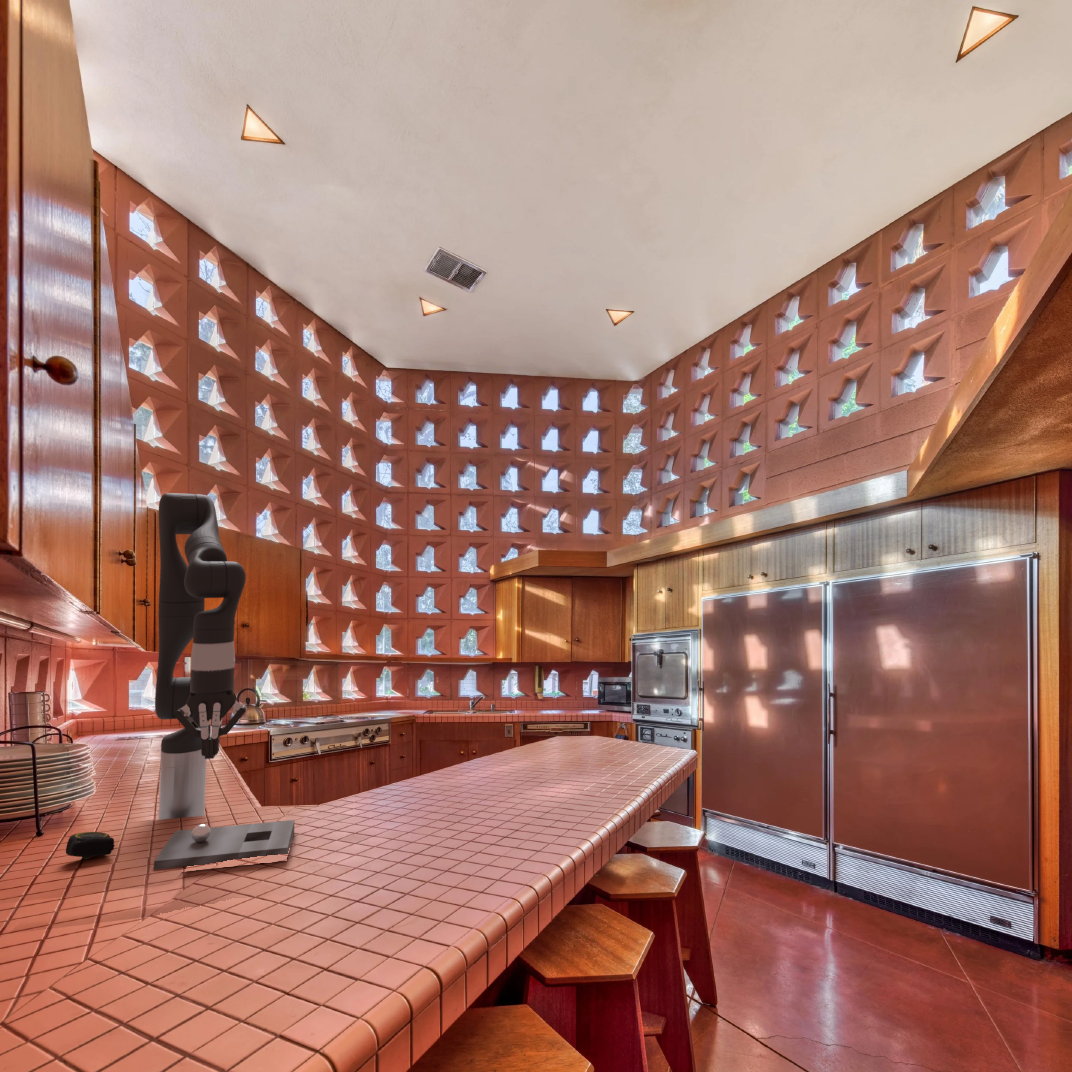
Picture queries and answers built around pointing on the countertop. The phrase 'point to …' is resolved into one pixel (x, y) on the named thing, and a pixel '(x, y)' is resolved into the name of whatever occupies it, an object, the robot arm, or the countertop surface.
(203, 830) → the steel ball
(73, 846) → the tape measure
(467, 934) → the countertop surface
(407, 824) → the countertop surface
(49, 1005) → the countertop surface
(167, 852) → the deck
